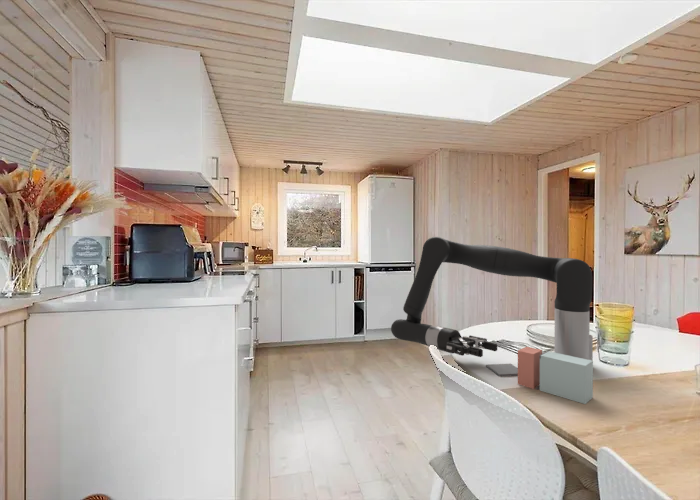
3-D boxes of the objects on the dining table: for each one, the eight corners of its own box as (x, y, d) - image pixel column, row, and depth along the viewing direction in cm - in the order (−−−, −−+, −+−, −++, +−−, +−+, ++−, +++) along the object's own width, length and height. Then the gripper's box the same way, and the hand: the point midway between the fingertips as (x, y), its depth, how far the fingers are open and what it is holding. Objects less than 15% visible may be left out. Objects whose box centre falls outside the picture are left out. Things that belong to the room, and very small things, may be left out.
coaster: (510, 365, 105) (510, 363, 105) (526, 375, 97) (526, 373, 97) (485, 366, 104) (485, 364, 104) (499, 376, 96) (499, 374, 96)
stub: (517, 383, 91) (517, 350, 91) (526, 378, 94) (526, 346, 94) (533, 388, 88) (533, 354, 88) (542, 383, 91) (542, 349, 91)
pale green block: (535, 389, 87) (535, 354, 87) (544, 383, 91) (544, 350, 91) (585, 404, 79) (585, 365, 79) (592, 397, 83) (592, 360, 82)
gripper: (429, 331, 107) (477, 342, 95) (455, 324, 117) (501, 333, 104) (429, 354, 108) (477, 368, 95) (455, 346, 117) (501, 358, 104)
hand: (489, 350), depth 100 cm, fingers open, 8 cm apart
